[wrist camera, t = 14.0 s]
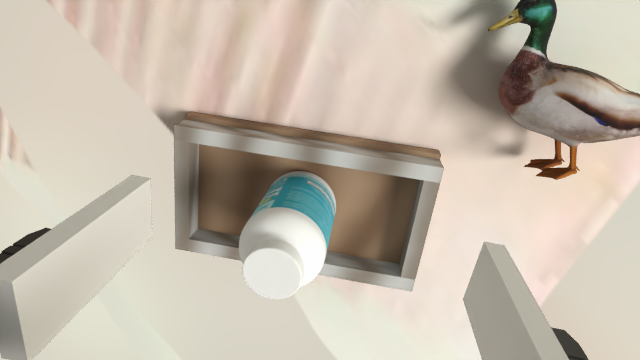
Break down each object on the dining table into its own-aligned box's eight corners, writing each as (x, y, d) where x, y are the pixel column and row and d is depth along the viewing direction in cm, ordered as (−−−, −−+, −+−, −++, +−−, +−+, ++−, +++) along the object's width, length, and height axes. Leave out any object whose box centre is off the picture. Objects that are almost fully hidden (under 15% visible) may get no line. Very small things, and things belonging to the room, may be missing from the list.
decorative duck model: (499, -11, 29) (744, -49, 26) (478, 4, 36) (669, -25, 33) (500, 185, 33) (714, 172, 30) (481, 164, 40) (653, 151, 37)
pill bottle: (280, 157, 41) (239, 215, 29) (347, 184, 41) (335, 253, 29) (259, 217, 44) (214, 293, 32) (322, 242, 44) (301, 327, 32)
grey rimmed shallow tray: (190, 234, 48) (175, 252, 44) (191, 111, 42) (173, 120, 39) (407, 273, 46) (410, 295, 42) (438, 150, 40) (445, 163, 37)
